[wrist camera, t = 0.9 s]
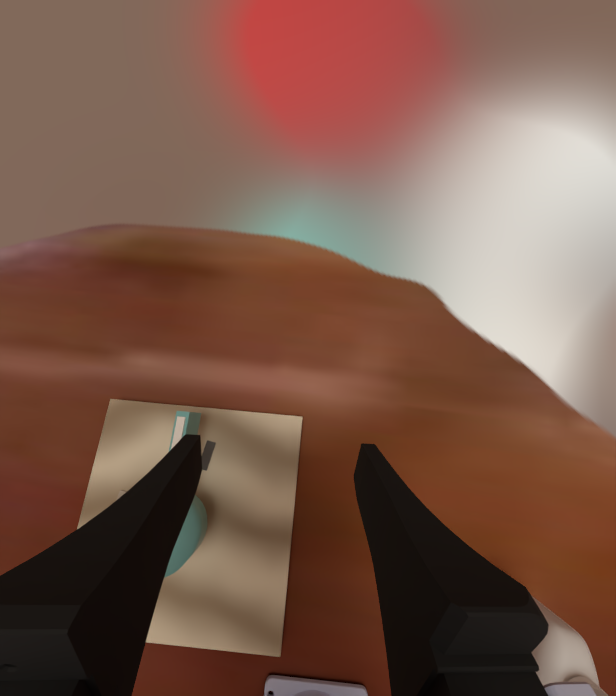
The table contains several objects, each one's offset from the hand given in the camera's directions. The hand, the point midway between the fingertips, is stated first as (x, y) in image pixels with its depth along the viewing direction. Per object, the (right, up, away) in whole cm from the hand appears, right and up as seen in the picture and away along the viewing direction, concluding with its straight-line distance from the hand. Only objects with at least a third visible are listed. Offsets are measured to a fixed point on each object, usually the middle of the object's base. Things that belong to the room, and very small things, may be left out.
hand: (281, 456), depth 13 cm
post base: (-9, -10, +13) cm, 19 cm away
